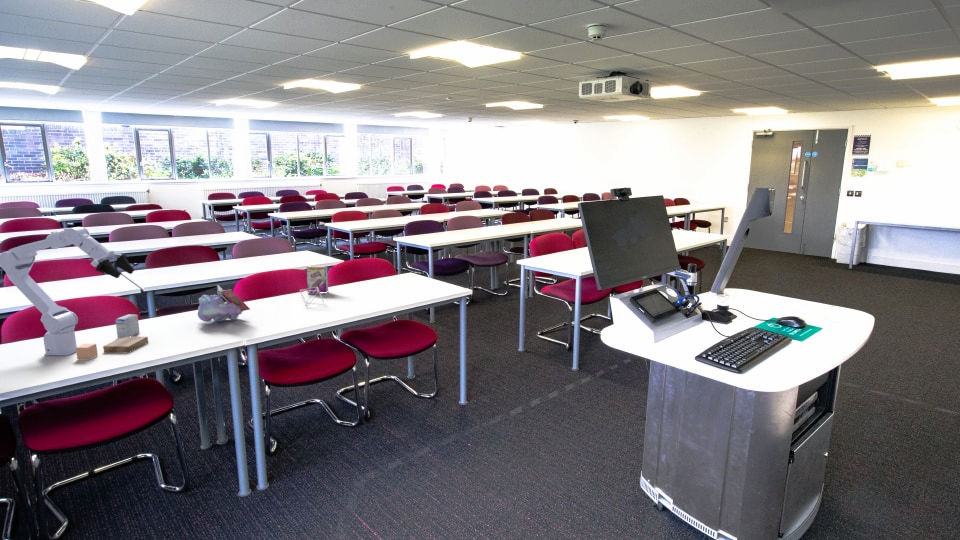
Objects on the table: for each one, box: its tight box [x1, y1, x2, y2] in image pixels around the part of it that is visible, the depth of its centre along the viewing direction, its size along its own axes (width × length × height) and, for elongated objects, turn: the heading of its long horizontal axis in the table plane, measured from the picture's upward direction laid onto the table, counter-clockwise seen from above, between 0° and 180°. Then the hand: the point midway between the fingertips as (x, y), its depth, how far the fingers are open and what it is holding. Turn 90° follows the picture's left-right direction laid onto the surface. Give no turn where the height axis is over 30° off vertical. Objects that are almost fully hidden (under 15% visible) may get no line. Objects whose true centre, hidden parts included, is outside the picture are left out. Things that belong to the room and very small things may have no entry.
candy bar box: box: [306, 265, 329, 293], centre depth 301 cm, size 11×5×16 cm, turn 93°
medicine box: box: [114, 313, 140, 339], centre depth 222 cm, size 8×4×9 cm, turn 178°
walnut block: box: [102, 336, 149, 353], centre depth 208 cm, size 10×12×3 cm
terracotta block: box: [75, 343, 99, 360], centre depth 196 cm, size 4×4×5 cm
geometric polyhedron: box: [299, 287, 325, 308], centre depth 275 cm, size 12×11×9 cm
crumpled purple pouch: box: [197, 284, 251, 323], centre depth 242 cm, size 20×22×18 cm
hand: (125, 274), depth 196 cm, fingers open, 7 cm apart
